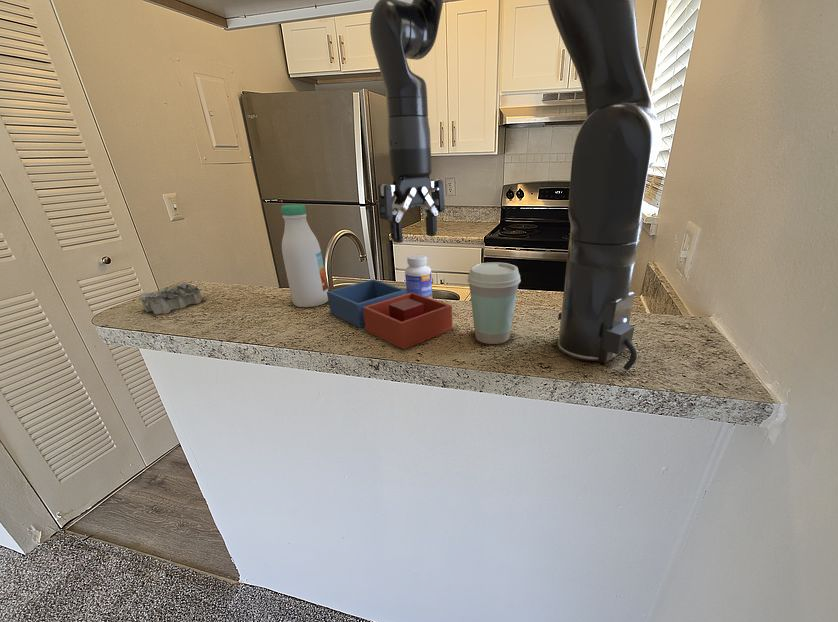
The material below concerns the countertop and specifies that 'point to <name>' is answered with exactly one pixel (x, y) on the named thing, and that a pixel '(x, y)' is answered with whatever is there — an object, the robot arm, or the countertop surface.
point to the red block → (406, 309)
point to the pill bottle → (418, 276)
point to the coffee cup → (493, 300)
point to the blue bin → (359, 299)
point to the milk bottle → (302, 259)
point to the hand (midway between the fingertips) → (415, 238)
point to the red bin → (408, 321)
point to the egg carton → (171, 298)
